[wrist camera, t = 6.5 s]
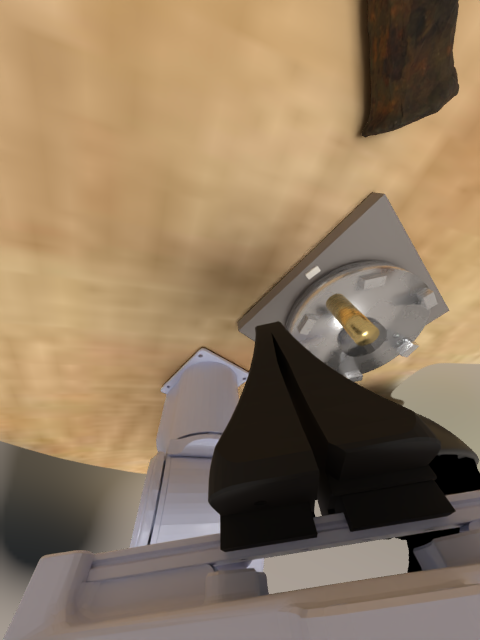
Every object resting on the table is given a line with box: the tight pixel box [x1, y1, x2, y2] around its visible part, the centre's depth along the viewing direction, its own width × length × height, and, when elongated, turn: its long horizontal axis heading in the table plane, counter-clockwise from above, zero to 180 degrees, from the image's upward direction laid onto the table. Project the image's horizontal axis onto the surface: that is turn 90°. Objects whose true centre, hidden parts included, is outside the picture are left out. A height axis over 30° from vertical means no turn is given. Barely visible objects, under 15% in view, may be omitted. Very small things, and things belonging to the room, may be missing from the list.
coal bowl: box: [387, 413, 480, 573], centre depth 29 cm, size 20×20×19 cm
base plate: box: [237, 192, 449, 341], centre depth 22 cm, size 16×16×2 cm
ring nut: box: [286, 260, 437, 382], centre depth 19 cm, size 13×13×6 cm
